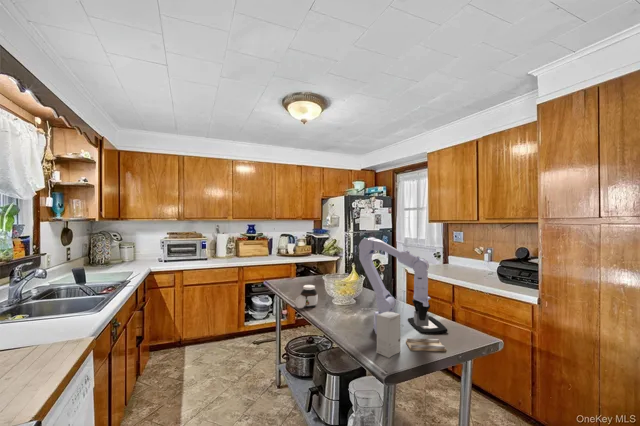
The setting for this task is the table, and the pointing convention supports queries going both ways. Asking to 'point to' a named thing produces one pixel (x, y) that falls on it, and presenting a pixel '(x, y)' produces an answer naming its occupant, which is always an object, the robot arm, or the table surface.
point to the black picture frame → (432, 328)
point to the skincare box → (388, 334)
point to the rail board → (425, 344)
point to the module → (420, 322)
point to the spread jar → (307, 297)
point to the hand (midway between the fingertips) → (420, 318)
